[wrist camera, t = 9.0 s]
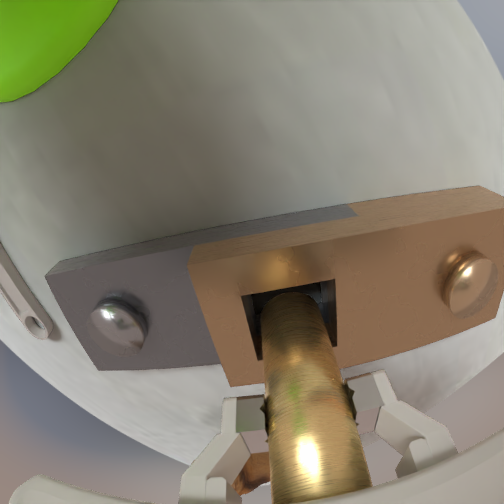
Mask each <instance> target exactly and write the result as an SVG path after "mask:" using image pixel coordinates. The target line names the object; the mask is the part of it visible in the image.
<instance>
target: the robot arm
mask: <svg viewBox="0 0 504 504" xmlns="http://www.w3.org/2000/svg"><path fill="white" fill-rule="evenodd" d="M344 386H345V389H346V392H347V396H348V399H349V402H350V406H351V409H352V412H353V416H354V419H355V423H356V426H357V430H358V433H359V435H360V434H365V433H369V432H372V431H374V432H375V433H376V434H377V435H378V436H380V437H381V438H382V439H383V440H385V441H386V442H387V443H388V444H389V445H391V446H392V447H393V448H394V449H395V450H397V451H398V452H399V453H400V454H402V455H403V457H402V459H401V461H400V462H399V464H398V466H397V468H396V469H395V471H396V474H397V477H398V479H395V480H392V481H389V482H386V483H383V484H380V485H377V486H373V487H369V488H366V489H362V490H358V491H355V492H350V493H346V494H342V495H337V496H333V497H328V498H323V499H317V500H311V501H305V502H298V503H290V504H504V428H502V429H500V430H499V431H497V432H496V433H494V434H492V435H491V436H489V437H487V438H486V439H484V440H483V441H480V442H479V443H477V444H475V445H473V446H471V447H469V448H468V449H466V450H464V451H462V452H460V453H458V451H457V449H456V447H455V444H454V442H453V440H452V438H451V435H450V433H449V431H448V429H447V427H446V426H444V425H443V424H441V423H439V422H437V421H435V420H434V419H432V418H430V417H429V416H427V415H425V414H424V413H422V412H421V411H419V410H417V409H416V408H414V407H412V406H411V405H409V404H407V403H406V402H404V401H402V400H401V401H398V399H397V397H396V395H395V392H394V390H393V388H392V386H391V383H390V381H389V379H388V377H387V375H386V372H385V371H384V370H383V369H382V370H378V371H375V372H371V373H366V374H363V375H359V376H355V377H351V378H347V379H345V381H344ZM268 451H269V446H268V425H267V409H266V398H265V395H264V394H262V395H252V396H242V397H230V398H224V400H223V405H222V421H221V434H217V435H216V436H215V437H214V438H213V440H212V441H211V442H210V443H209V444H208V446H207V447H206V448H205V449H204V450H203V452H202V453H201V454H200V455H199V456H198V458H197V459H196V460H195V461H194V462H193V463H192V465H191V466H190V467H189V468H188V469H187V470H186V471H185V473H184V474H183V475H182V478H181V486H180V494H179V502H178V504H242V498H241V497H240V495H239V494H238V493H237V492H236V491H235V490H234V489H233V487H232V486H231V485H232V484H233V482H234V480H235V479H236V477H237V476H238V474H239V473H240V471H241V470H242V468H243V466H244V465H245V463H246V462H247V460H248V458H249V457H250V454H252V453H261V452H268ZM8 504H158V503H151V502H144V501H138V500H132V499H127V498H121V497H117V496H112V495H108V494H103V493H99V492H95V491H92V490H88V489H84V488H81V487H77V486H74V485H71V484H67V483H65V482H61V481H59V480H56V479H53V478H50V477H47V476H45V475H36V476H34V477H33V478H31V479H29V480H28V481H26V482H25V483H24V484H22V485H21V486H19V487H18V488H17V489H16V490H15V491H14V493H13V495H12V497H11V499H10V501H9V503H8Z"/></svg>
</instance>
